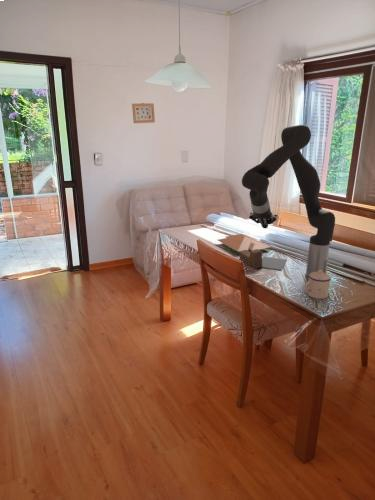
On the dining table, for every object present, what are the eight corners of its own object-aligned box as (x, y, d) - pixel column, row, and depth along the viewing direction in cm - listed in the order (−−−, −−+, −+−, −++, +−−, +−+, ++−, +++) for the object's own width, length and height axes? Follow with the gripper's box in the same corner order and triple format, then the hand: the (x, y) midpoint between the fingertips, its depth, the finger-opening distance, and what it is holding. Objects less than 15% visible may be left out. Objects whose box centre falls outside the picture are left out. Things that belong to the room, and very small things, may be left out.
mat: (286, 260, 205) (286, 259, 205) (281, 270, 190) (281, 269, 190) (263, 257, 210) (263, 256, 210) (256, 266, 195) (256, 266, 195)
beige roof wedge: (239, 258, 210) (240, 244, 207) (213, 242, 238) (214, 230, 236) (273, 253, 218) (274, 240, 215) (244, 239, 247) (245, 227, 244)
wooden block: (261, 251, 190) (245, 241, 206) (253, 253, 188) (238, 243, 205) (262, 267, 193) (246, 256, 209) (255, 269, 192) (239, 258, 208)
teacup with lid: (318, 289, 167) (321, 265, 164) (333, 297, 159) (336, 272, 156) (297, 293, 163) (299, 269, 159) (311, 302, 155) (314, 276, 151)
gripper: (277, 199, 157) (280, 221, 172) (247, 197, 162) (253, 218, 177) (274, 214, 154) (278, 235, 169) (243, 211, 159) (249, 232, 174)
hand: (265, 226), depth 173 cm, fingers closed
